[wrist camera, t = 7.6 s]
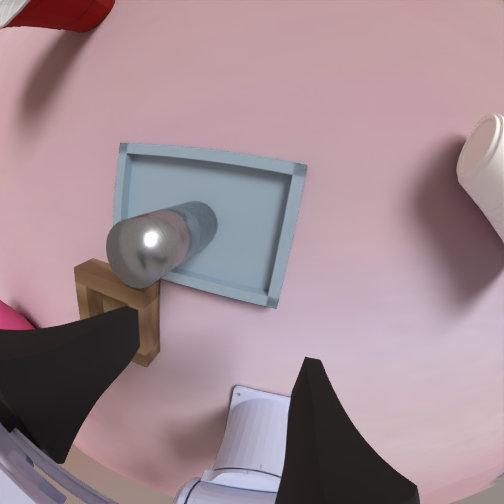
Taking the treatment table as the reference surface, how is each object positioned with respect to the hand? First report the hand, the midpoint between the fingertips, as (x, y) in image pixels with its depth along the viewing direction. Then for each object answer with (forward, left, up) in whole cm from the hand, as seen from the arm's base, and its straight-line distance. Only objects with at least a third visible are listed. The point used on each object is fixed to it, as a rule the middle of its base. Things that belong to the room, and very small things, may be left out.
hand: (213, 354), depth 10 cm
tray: (+3, +5, -10) cm, 12 cm away
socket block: (-7, +12, -10) cm, 17 cm away
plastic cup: (+24, +22, -11) cm, 34 cm away
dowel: (+2, +5, -10) cm, 11 cm away
